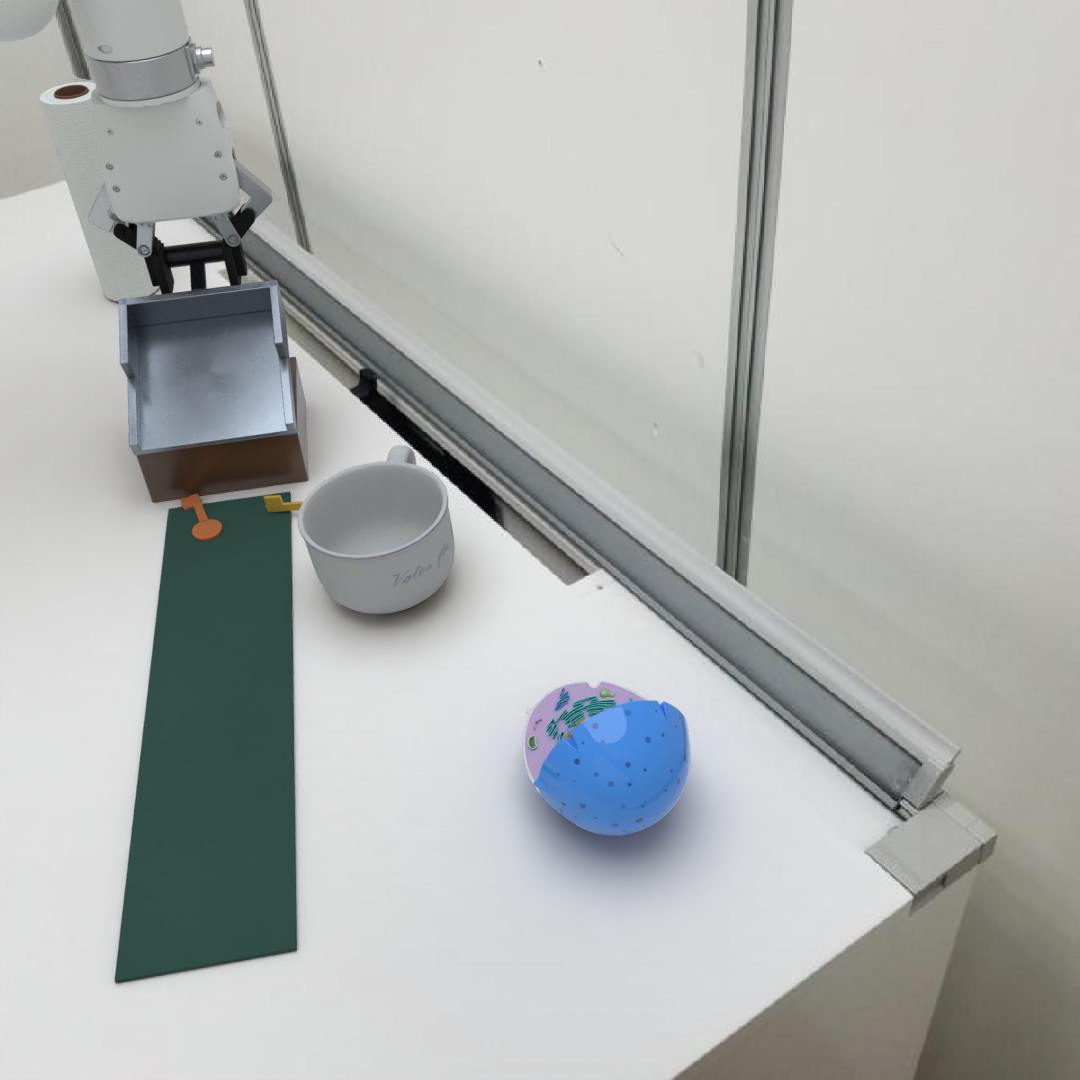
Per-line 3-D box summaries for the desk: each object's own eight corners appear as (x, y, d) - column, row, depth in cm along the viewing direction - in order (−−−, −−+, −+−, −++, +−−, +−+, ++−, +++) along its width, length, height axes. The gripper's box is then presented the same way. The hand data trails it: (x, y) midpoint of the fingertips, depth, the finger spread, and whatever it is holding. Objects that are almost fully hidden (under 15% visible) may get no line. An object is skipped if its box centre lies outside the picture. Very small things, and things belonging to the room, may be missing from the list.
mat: (169, 511, 95) (168, 508, 95) (290, 494, 96) (290, 491, 96) (115, 983, 64) (114, 980, 64) (297, 950, 65) (295, 947, 64)
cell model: (633, 699, 77) (634, 597, 71) (719, 838, 69) (728, 736, 63) (494, 746, 75) (483, 645, 69) (566, 897, 66) (560, 797, 60)
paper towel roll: (139, 307, 121) (76, 104, 107) (92, 299, 123) (24, 99, 109) (178, 275, 126) (123, 77, 112) (133, 268, 128) (72, 72, 114)
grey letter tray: (129, 280, 100) (114, 247, 96) (280, 262, 101) (271, 229, 98) (134, 455, 92) (118, 427, 89) (297, 433, 94) (288, 405, 90)
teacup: (422, 649, 82) (409, 566, 77) (289, 617, 85) (267, 535, 80) (495, 528, 91) (487, 447, 86) (373, 502, 95) (359, 423, 89)
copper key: (195, 542, 91) (196, 544, 91) (225, 532, 92) (226, 535, 92) (179, 498, 95) (180, 501, 96) (207, 490, 96) (208, 492, 96)
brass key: (335, 490, 92) (334, 493, 92) (343, 513, 94) (342, 516, 93) (262, 495, 93) (261, 497, 93) (271, 518, 95) (270, 520, 94)
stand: (163, 421, 105) (148, 375, 102) (305, 402, 106) (295, 356, 103) (152, 502, 96) (135, 454, 93) (308, 480, 97) (297, 432, 94)
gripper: (260, 42, 90) (303, 255, 102) (36, 65, 88) (106, 279, 100) (258, 75, 84) (303, 296, 96) (19, 100, 83) (95, 322, 95)
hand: (202, 285), depth 98 cm, fingers closed on grey letter tray, 5 cm apart
